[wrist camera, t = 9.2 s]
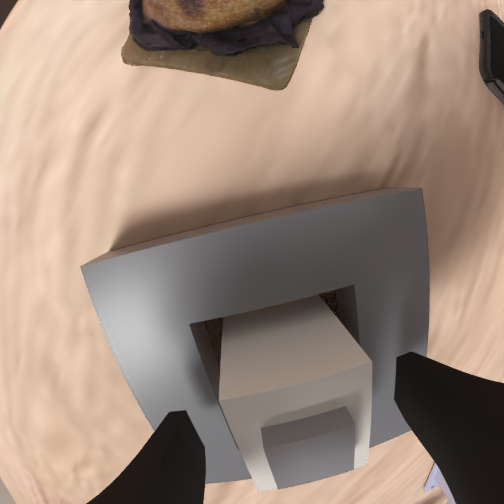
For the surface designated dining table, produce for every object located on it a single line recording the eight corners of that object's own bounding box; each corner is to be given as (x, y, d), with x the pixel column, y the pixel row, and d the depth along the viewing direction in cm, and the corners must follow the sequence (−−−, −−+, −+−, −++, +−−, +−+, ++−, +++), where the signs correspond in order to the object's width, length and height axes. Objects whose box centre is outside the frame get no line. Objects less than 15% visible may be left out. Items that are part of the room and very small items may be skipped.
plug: (316, 292, 12) (385, 378, 6) (328, 383, 13) (374, 478, 7) (223, 314, 12) (218, 421, 6) (249, 402, 13) (260, 508, 7)
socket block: (388, 187, 11) (421, 188, 9) (396, 402, 14) (415, 428, 11) (108, 251, 11) (80, 266, 9) (194, 452, 14) (190, 484, 11)
